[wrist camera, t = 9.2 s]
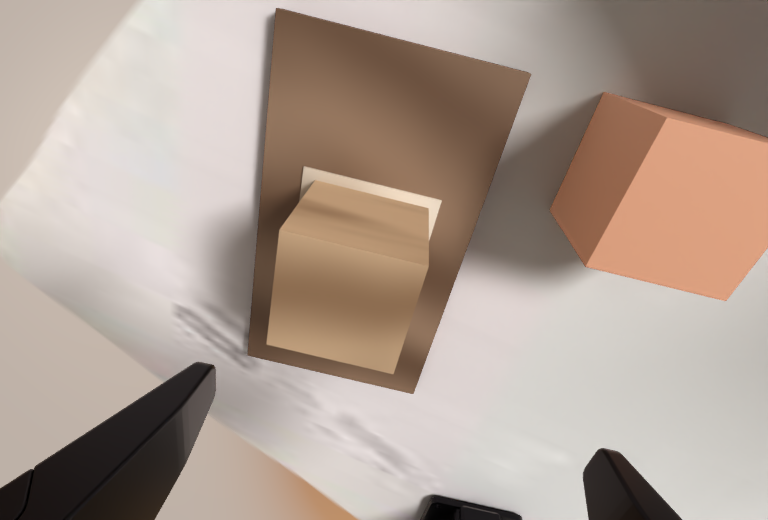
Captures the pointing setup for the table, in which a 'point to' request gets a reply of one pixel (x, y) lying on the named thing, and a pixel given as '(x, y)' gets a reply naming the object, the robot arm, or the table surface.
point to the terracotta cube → (666, 197)
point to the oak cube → (348, 276)
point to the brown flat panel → (379, 157)
